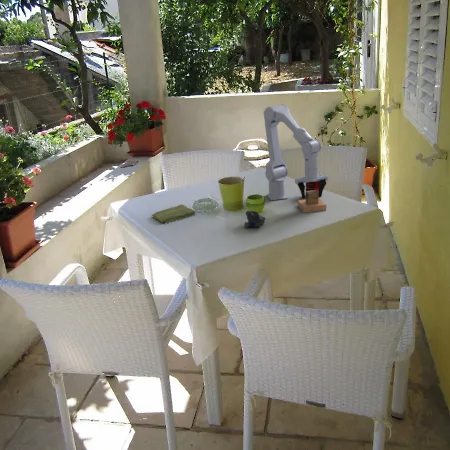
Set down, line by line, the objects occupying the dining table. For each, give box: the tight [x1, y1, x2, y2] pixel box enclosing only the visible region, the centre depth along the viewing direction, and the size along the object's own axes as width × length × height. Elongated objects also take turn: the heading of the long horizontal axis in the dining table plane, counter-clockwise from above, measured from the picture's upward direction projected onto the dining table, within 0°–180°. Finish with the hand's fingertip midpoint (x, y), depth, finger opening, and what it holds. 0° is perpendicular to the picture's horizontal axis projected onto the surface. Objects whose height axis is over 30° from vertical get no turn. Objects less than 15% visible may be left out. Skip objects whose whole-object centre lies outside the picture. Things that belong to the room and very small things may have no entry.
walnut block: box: [305, 190, 318, 205], centre depth 217 cm, size 4×4×5 cm
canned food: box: [305, 171, 323, 198], centre depth 233 cm, size 8×8×11 cm
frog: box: [244, 210, 266, 229], centre depth 202 cm, size 9×11×7 cm
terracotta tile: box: [297, 197, 327, 214], centre depth 219 cm, size 10×10×2 cm
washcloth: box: [151, 204, 196, 224], centre depth 222 cm, size 13×18×3 cm
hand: (311, 197), depth 217 cm, fingers open, 7 cm apart
